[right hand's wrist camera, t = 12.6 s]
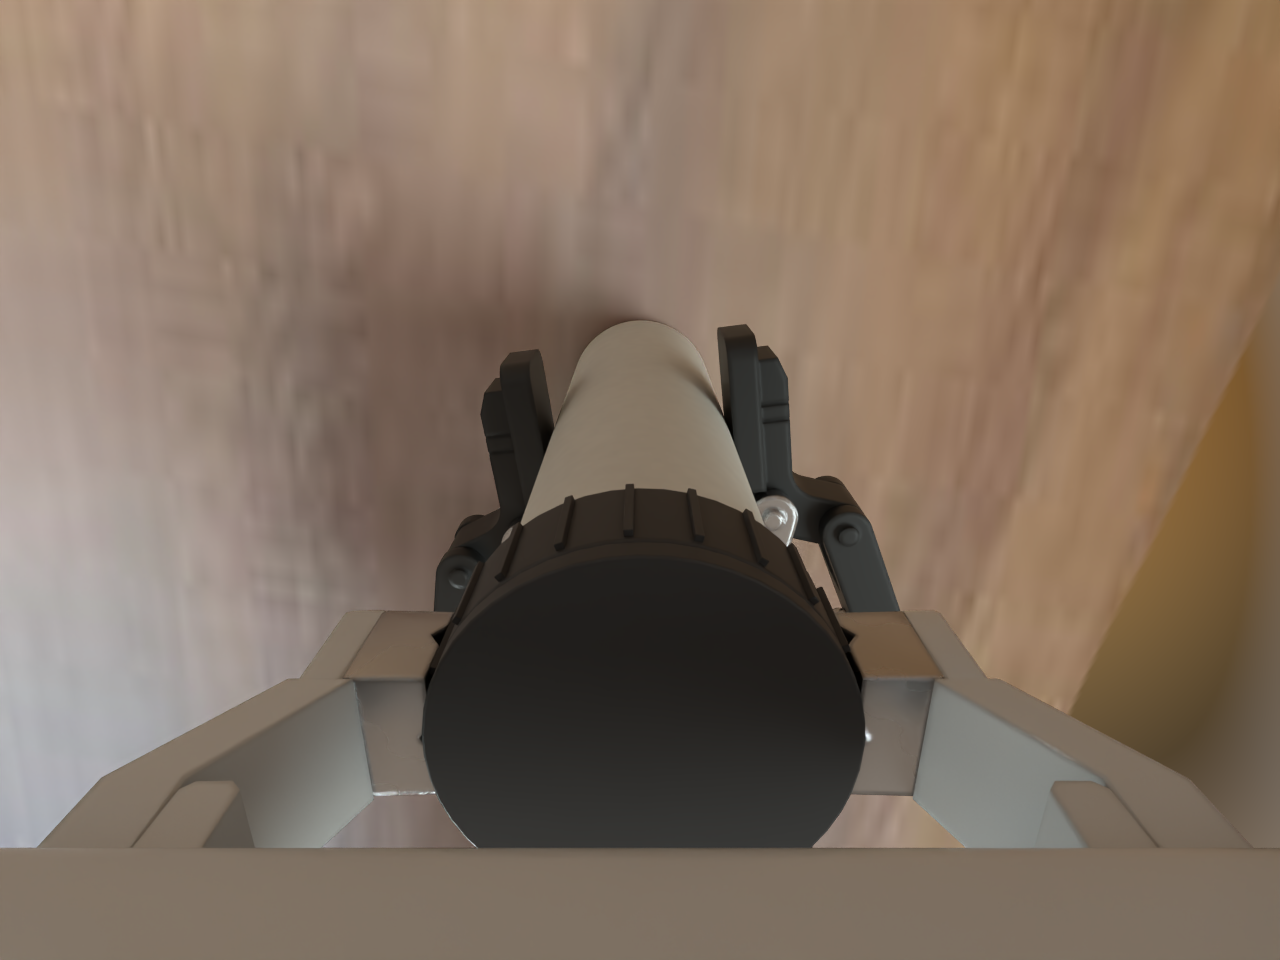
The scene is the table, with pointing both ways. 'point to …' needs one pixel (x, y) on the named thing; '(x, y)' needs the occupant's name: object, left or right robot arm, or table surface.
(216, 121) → the table surface
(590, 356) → the jar
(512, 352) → the left robot arm
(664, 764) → the lid
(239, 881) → the right robot arm
